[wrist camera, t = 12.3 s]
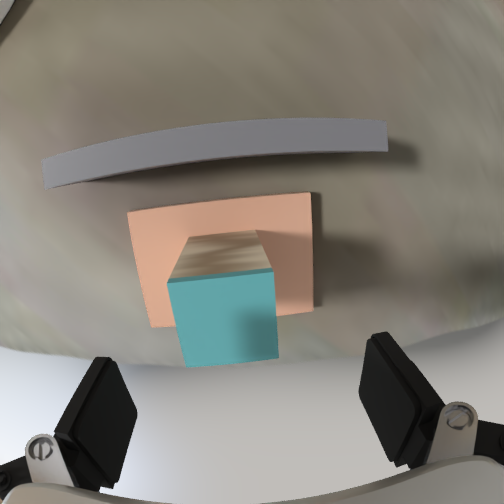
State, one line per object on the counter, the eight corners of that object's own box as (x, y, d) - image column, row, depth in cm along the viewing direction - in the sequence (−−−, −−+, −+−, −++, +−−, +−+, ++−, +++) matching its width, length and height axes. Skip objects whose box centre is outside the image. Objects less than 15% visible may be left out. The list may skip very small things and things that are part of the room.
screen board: (349, 129, 21) (385, 120, 16) (351, 152, 22) (388, 151, 16) (80, 158, 20) (41, 159, 14) (83, 182, 21) (44, 189, 15)
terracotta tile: (307, 191, 23) (310, 192, 22) (310, 305, 26) (313, 310, 25) (130, 210, 22) (127, 212, 21) (153, 321, 25) (151, 327, 24)
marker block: (255, 229, 22) (273, 272, 14) (260, 290, 24) (278, 358, 15) (188, 236, 22) (166, 283, 13) (198, 297, 23) (186, 367, 15)
